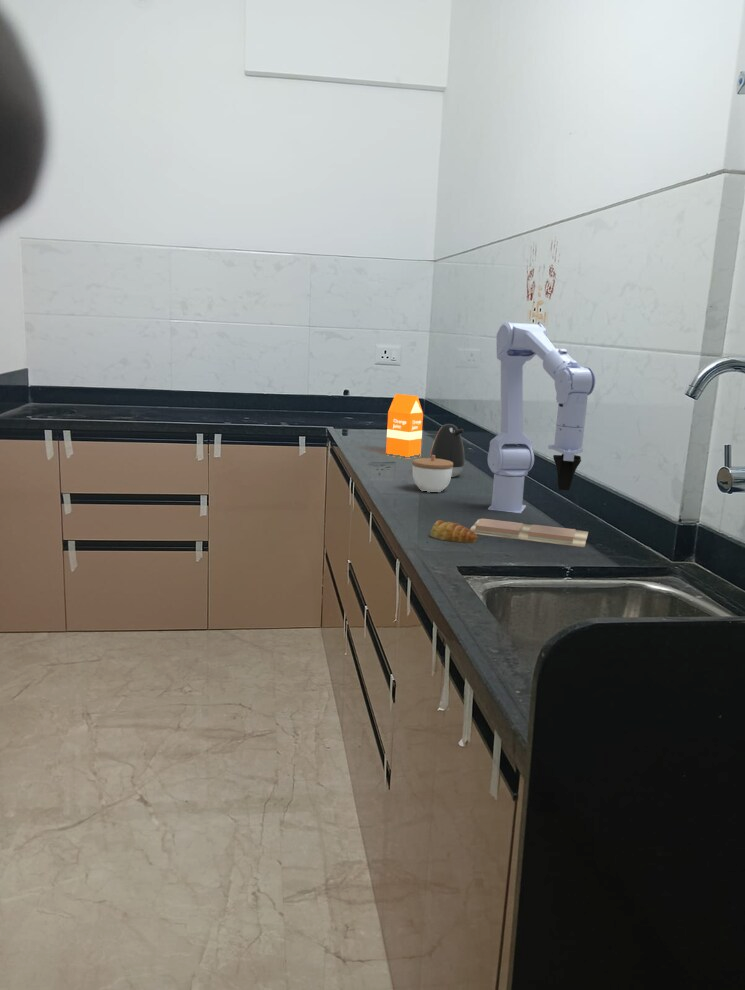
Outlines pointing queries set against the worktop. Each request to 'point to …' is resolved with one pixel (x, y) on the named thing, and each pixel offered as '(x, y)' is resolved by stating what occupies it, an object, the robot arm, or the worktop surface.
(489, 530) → the tile
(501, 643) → the worktop surface
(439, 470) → the lidded jar
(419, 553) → the worktop surface
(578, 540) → the board
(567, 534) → the tile
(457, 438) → the penguin figurine
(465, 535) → the pastry
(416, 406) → the orange juice
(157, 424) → the worktop surface
